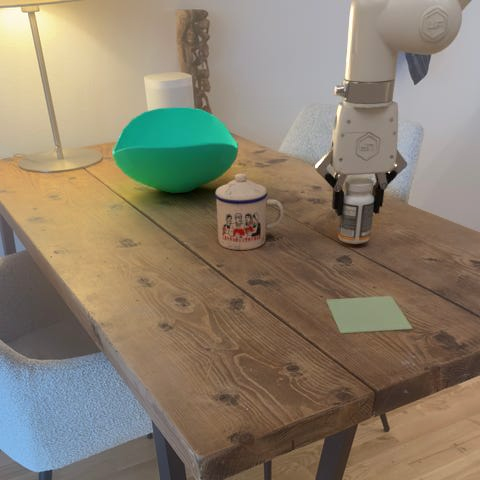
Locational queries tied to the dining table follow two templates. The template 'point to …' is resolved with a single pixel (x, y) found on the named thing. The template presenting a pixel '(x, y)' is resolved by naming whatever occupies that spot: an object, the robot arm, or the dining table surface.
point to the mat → (367, 314)
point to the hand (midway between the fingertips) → (356, 211)
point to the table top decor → (175, 149)
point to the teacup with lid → (243, 214)
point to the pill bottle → (356, 211)
